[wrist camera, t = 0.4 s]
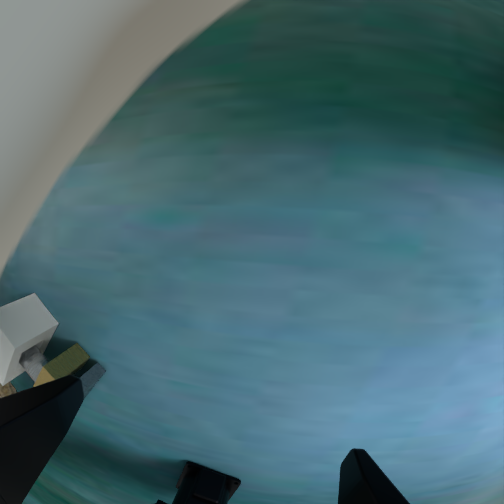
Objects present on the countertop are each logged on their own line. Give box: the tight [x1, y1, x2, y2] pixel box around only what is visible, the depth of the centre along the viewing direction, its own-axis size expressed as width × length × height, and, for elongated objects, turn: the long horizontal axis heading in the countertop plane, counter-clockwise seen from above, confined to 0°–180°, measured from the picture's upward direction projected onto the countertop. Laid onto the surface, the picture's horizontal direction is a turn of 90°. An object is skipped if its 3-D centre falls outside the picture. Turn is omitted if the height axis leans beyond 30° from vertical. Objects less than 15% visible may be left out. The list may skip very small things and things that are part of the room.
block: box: [0, 293, 59, 386], centre depth 25 cm, size 4×8×7 cm, turn 137°
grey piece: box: [19, 345, 106, 398], centre depth 23 cm, size 10×10×9 cm
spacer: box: [33, 343, 90, 387], centre depth 25 cm, size 2×9×6 cm, turn 137°
